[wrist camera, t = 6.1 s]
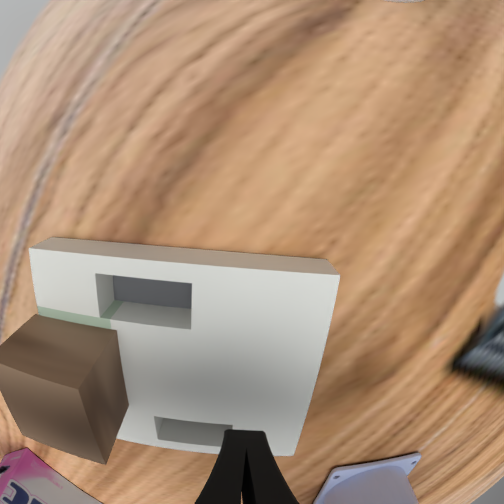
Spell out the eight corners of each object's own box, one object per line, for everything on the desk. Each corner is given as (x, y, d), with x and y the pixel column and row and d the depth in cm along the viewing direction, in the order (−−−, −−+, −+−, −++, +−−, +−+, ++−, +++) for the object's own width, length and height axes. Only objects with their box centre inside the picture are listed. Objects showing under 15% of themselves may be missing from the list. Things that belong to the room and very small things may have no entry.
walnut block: (129, 405, 13) (105, 464, 9) (55, 386, 13) (22, 434, 9) (116, 330, 12) (78, 389, 8) (35, 314, 12) (-13, 357, 8)
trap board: (289, 431, 16) (293, 455, 14) (84, 406, 16) (73, 426, 14) (326, 259, 13) (340, 275, 11) (52, 237, 13) (28, 248, 11)
